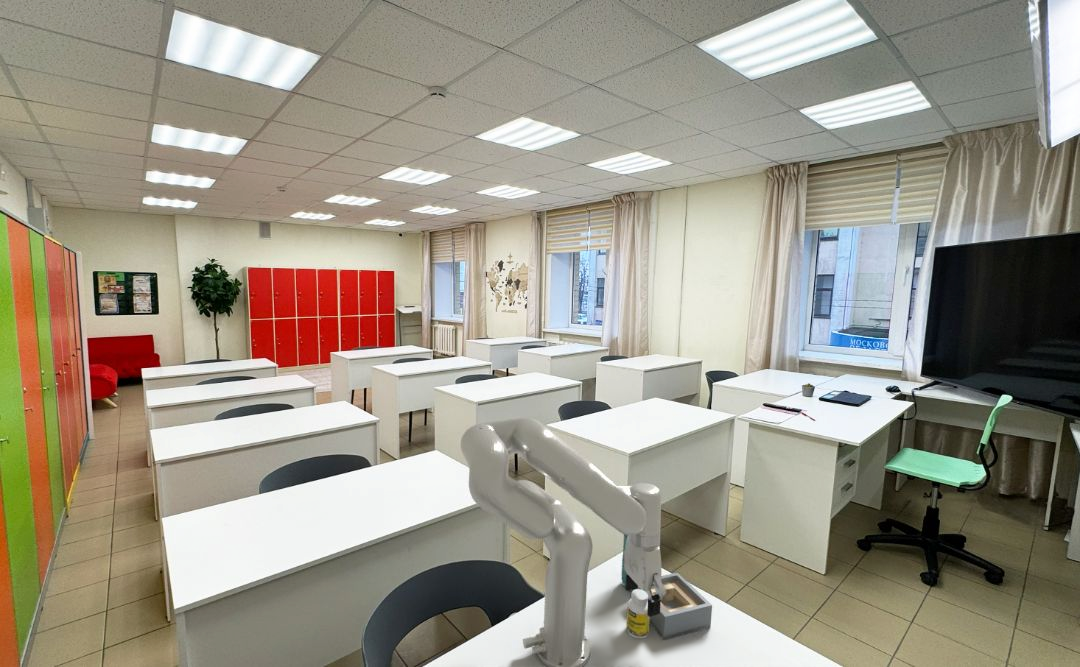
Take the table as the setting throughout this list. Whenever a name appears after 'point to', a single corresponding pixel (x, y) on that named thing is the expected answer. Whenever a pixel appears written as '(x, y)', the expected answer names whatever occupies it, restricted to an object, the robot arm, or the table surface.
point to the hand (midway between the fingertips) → (642, 601)
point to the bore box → (680, 608)
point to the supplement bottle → (638, 614)
